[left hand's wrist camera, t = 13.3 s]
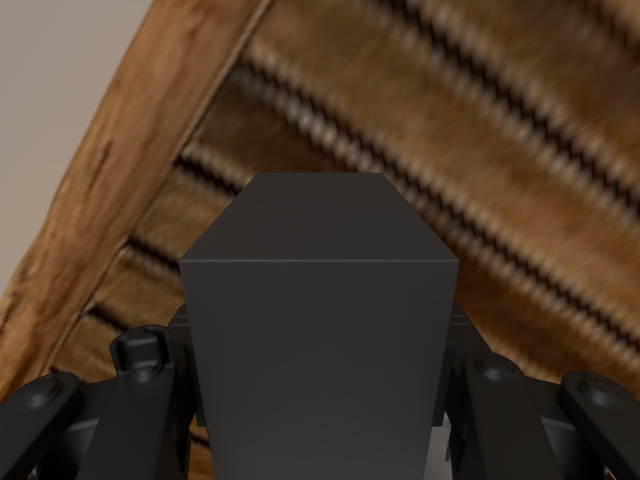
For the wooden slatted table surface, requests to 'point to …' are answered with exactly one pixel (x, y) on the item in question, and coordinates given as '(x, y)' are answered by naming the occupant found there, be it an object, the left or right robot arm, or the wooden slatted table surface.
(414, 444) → the bar
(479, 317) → the wooden slatted table surface
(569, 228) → the wooden slatted table surface
